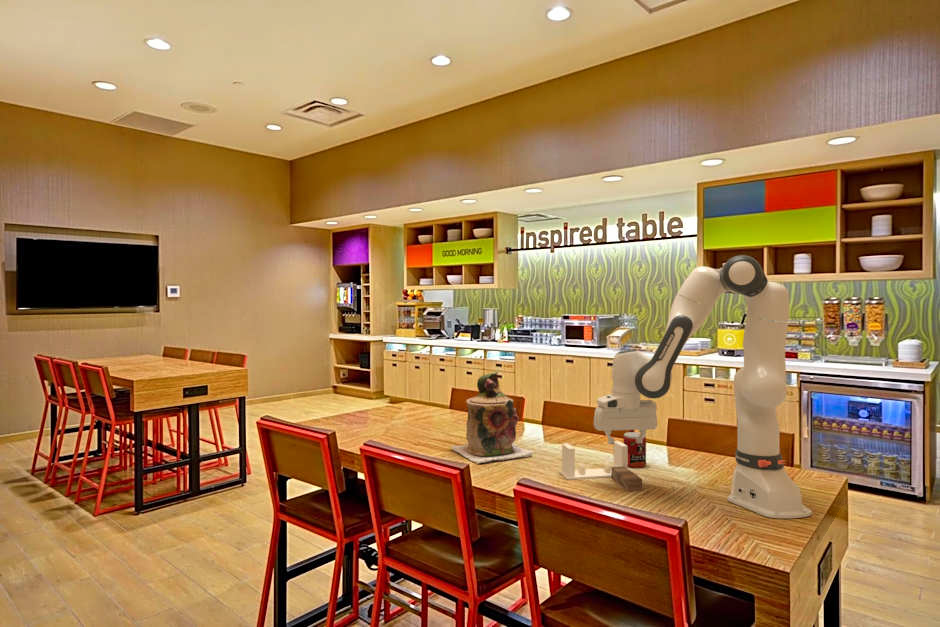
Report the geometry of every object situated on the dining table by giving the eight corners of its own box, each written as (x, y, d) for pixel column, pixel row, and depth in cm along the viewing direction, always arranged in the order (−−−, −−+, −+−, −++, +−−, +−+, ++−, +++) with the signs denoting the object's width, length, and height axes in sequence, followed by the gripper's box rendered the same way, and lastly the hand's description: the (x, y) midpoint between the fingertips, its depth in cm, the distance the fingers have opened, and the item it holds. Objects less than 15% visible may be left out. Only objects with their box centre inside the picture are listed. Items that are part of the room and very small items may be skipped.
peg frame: (620, 469, 204) (620, 440, 203) (630, 476, 196) (630, 446, 195) (559, 472, 200) (559, 443, 200) (567, 479, 192) (567, 449, 192)
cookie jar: (448, 450, 231) (448, 369, 230) (502, 443, 242) (502, 365, 242) (478, 465, 209) (478, 376, 208) (536, 457, 220) (535, 372, 220)
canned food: (631, 469, 204) (631, 437, 203) (619, 463, 211) (619, 432, 211) (650, 467, 206) (650, 436, 205) (638, 461, 213) (638, 431, 213)
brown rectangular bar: (642, 492, 180) (642, 479, 180) (628, 492, 180) (628, 479, 180) (624, 478, 194) (624, 466, 194) (611, 479, 194) (611, 467, 194)
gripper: (652, 398, 191) (651, 440, 191) (592, 399, 188) (591, 442, 188) (661, 401, 185) (660, 445, 185) (599, 402, 182) (598, 447, 182)
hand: (625, 443), depth 187 cm, fingers open, 8 cm apart
